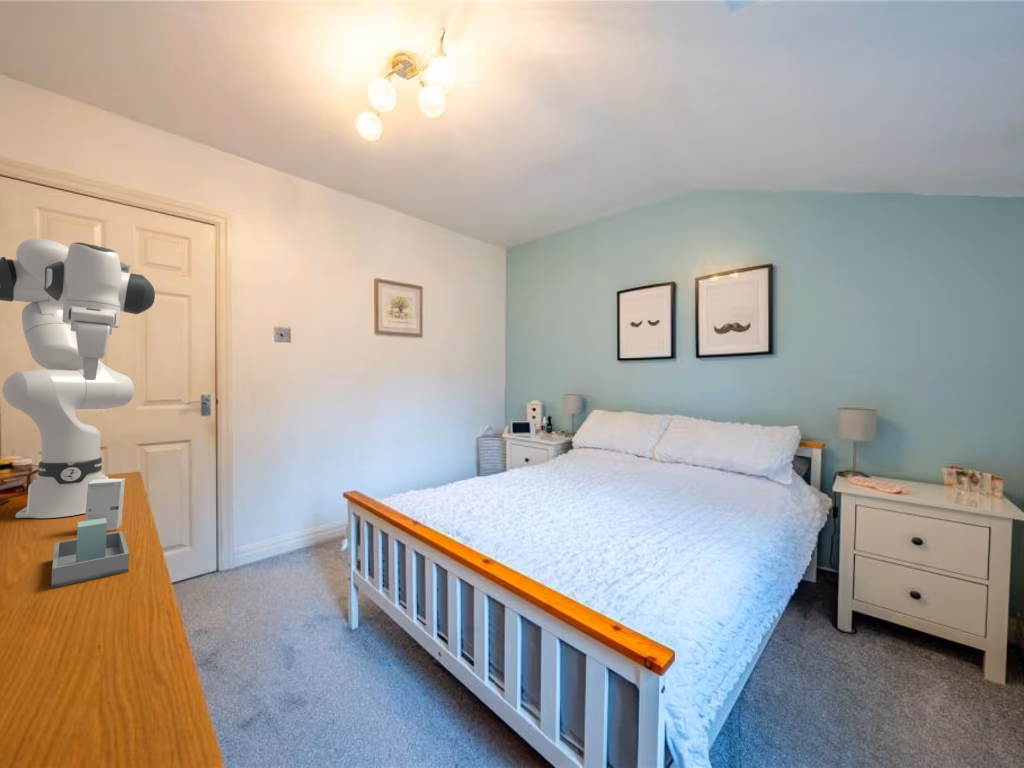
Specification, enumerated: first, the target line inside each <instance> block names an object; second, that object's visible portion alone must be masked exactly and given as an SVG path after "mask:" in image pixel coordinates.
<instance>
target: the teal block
mask: <svg viewBox="0 0 1024 768" xmlns="http://www.w3.org/2000/svg"><path fill="white" fill-rule="evenodd" d="M76 532H77V533H76V539H77V547H76V563H78V562H83V561H88V560H93V559H98V558H103V557H105V553H106V534H108V533H107V532H108V531H107V521H106V518H102V519H95V520H89V521H85V520H82V521H77V530H76Z"/></svg>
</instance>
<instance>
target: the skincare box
mask: <svg viewBox="0 0 1024 768" xmlns="http://www.w3.org/2000/svg"><path fill="white" fill-rule="evenodd" d="M125 483H126V478H125V477H121V478H108V479H97V480H92V481H91V482H90V483H88V492H87V503H86V513H85V516H84V517H85V518H84V521H89V520H95V519H102V518H106V521H107V532H108V531H115V530H118V529H119V528H121V527H120V526H121V525H122V523H123V522H122V520H123V510H124V509H123V507H124V494H125V486H126V484H125Z"/></svg>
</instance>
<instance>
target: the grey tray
mask: <svg viewBox="0 0 1024 768" xmlns="http://www.w3.org/2000/svg"><path fill="white" fill-rule="evenodd" d="M76 547H77V538H73V539H71V540H64V541H62V540H61V541H58V542H57V541H56V542H54V548H53V549H54V550H53V559H52V568H51V586H50V589H55V588H59V587H64V586H68V585H73V584H77V583H81V582H82V583H83V582H86V581H91V580H96V579H99V578H104V577H108V576H113V575H117V574H121V573H125V572H126V573H127V572H129V563H130V562H129V561H130V552H129V549H128V544H127V542H126V539H125V534H124V531H122V530H121V531H117V532H116V531H115V532H111V533H106V553H105V557H103V558H98V559H93V560H88V561H83V562H78V563H76Z"/></svg>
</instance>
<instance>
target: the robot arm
mask: <svg viewBox="0 0 1024 768" xmlns="http://www.w3.org/2000/svg"><path fill="white" fill-rule="evenodd" d="M15 255H16V256H15V257H16V259H11V258H9V259H6V257H5V256H2V257H0V301H5V302H11V303H12V302H13V301H15V302H16V301H17V302H24V303H28V304H26V305H25V306H24V307H23V309H22V311H21V323H22V331H23V334H24V335H23V336H24V337H25V338H24V339H25V341H26V343H27V346H28V349H29V351H30V354H31V357H32V360H34V362H35V363H36V364H38V365H39V366H41V367H42V368H41V369H39V368H38V369H30V370H22V371H16V372H14V373H12V374H11V375H9V376H8V377H7V378H6V379H5V381H4V382H3V385H2V388H1V389H2V390H1V392H2V396H3V398H4V400H5V402H6V403H8V405H10V406H11V407H13V408H14V409H16V410H18V411H21V412H22V413H24V414H26V415H27V417H29V418H30V419H31V420H32V421H33V422H34V423H35V425H36V427H37V429H38V430H39V433H40V443H41V444H40V445H41V460H40V461H39V462H38V465H37V475H38V477H37V479H35V480H34V481H33V482H31V483H30V484H29V485H28V488H27V500H26V503H27V504H26V506H25V507H23V508H22V509H21V510H19V511H17V512H16V513H15V518H17V519H20V518H21V519H22V518H23V519H24V518H32V519H52V518H53V519H55V518H64V517H70V516H71V517H73V516H77V515H81V514H82V515H83V514H86V503H87V492H88V483H90V482H91V481H92V480H97V479H109V477H108V476H107V475H106V474H104V473H103V472H101V471H102V467H103V458H102V457H101V445H102V444H101V441H102V433H101V431H100V430H99V429H98V428H97V426H94V425H92V424H90V423H87V422H84V421H80V420H79V419H78V417H77V415H76V411H77V410H80V411H81V410H107V409H111V408H112V409H113V408H118V407H124V406H126V405H128V404H129V403H130V402H131V401H132V400H133V397H135V392H136V387H135V384H134V381H132V379H131V378H130V377H129V376H128V375H125V374H123V373H120V372H118V371H116V370H114V369H112V368H110V367H109V366H108V365H106V364H105V363H103V362H102V361H101V360H102V359H104V358H105V354H106V351H107V347H108V341H109V337H110V336H109V335H112V334H113V332H112V330H113V329H117V328H120V327H121V312H124V313H128V314H133V315H139V314H141V313H144V312H145V311H147V310H149V309H151V308H152V307H153V305H154V303H155V299H156V292H155V288H154V286H153V285H152V283H151V282H150V281H149V279H147V278H146V277H145V276H144V275H143V274H138V273H137V274H136V273H129V272H124V271H122V265H121V259H120V258H121V257H120V255H119V253H117V251H115V250H113V249H111V248H107V247H102V246H98V245H95V244H89V243H84V242H81V241H79V242H78V241H77V242H72V243H70V245H69V246H67V245H65V244H63V243H61V242H58V241H56V240H51V239H49V238H48V239H47V238H31V239H27V240H25V241H23V242H21V243H20V244H19V245H18V246H17V249H16V253H15Z"/></svg>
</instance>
